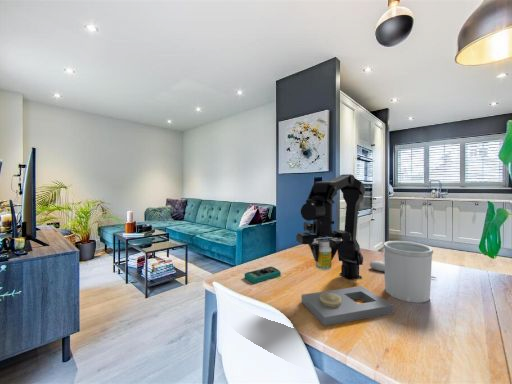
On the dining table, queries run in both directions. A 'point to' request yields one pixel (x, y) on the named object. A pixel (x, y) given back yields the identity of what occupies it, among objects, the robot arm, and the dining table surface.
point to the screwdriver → (380, 266)
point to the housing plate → (345, 305)
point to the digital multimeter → (262, 274)
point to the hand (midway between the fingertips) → (323, 260)
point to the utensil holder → (408, 270)
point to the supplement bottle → (324, 255)
